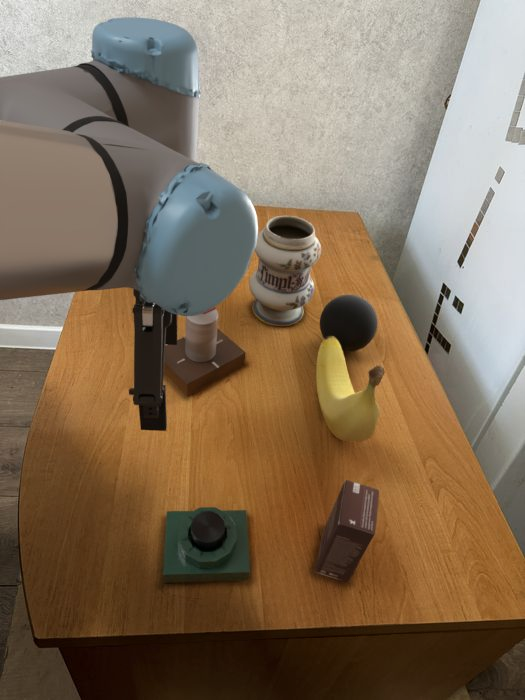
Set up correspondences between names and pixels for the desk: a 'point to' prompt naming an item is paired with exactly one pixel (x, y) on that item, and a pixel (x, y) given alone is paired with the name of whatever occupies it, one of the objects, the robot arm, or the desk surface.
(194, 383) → the dial panel
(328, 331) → the decorative ball
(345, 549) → the box
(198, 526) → the button
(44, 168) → the robot arm
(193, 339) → the dial
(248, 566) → the button box
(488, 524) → the desk surface
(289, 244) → the apothecary jar
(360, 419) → the banana
